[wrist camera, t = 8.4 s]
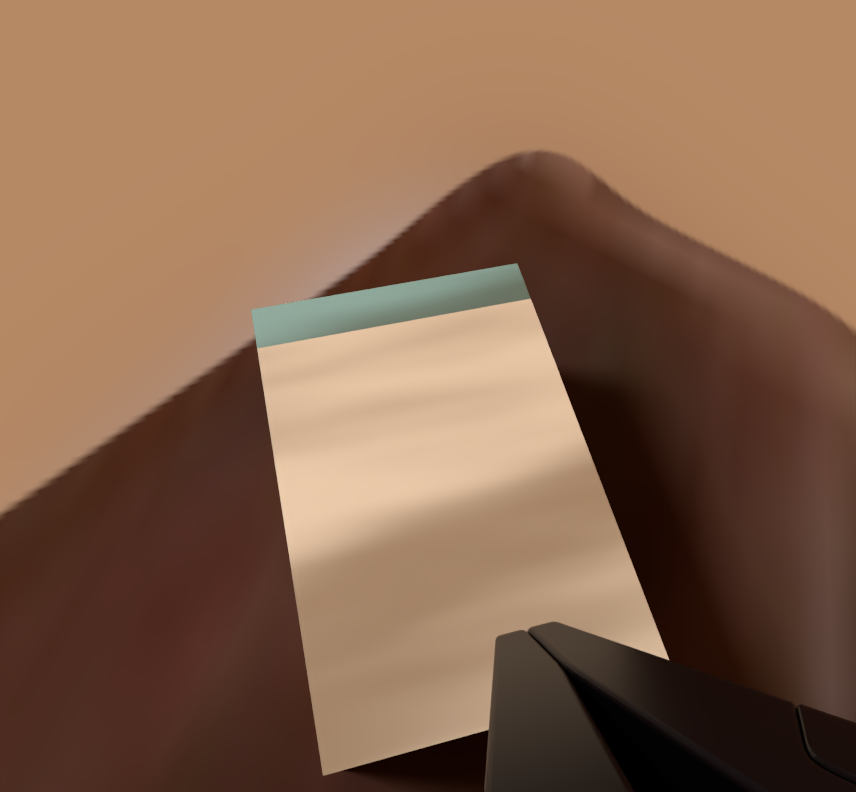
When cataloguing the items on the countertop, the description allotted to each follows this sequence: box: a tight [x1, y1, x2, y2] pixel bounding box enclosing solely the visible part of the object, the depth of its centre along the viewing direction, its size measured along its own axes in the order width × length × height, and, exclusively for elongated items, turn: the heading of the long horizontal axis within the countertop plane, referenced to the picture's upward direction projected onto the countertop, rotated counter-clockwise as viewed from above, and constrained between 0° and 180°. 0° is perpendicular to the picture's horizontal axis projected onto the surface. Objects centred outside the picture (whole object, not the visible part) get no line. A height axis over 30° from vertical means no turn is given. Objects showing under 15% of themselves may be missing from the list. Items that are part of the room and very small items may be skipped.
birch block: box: [251, 264, 669, 776], centre depth 15 cm, size 4×6×9 cm
